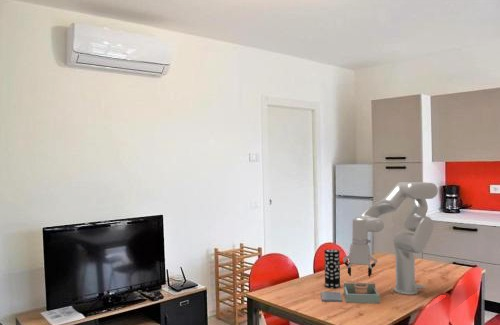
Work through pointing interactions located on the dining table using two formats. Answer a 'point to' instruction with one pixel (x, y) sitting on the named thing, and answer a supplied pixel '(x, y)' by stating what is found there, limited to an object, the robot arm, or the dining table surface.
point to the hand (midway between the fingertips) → (359, 275)
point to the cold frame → (370, 297)
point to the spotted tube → (332, 268)
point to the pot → (360, 288)
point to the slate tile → (331, 296)
